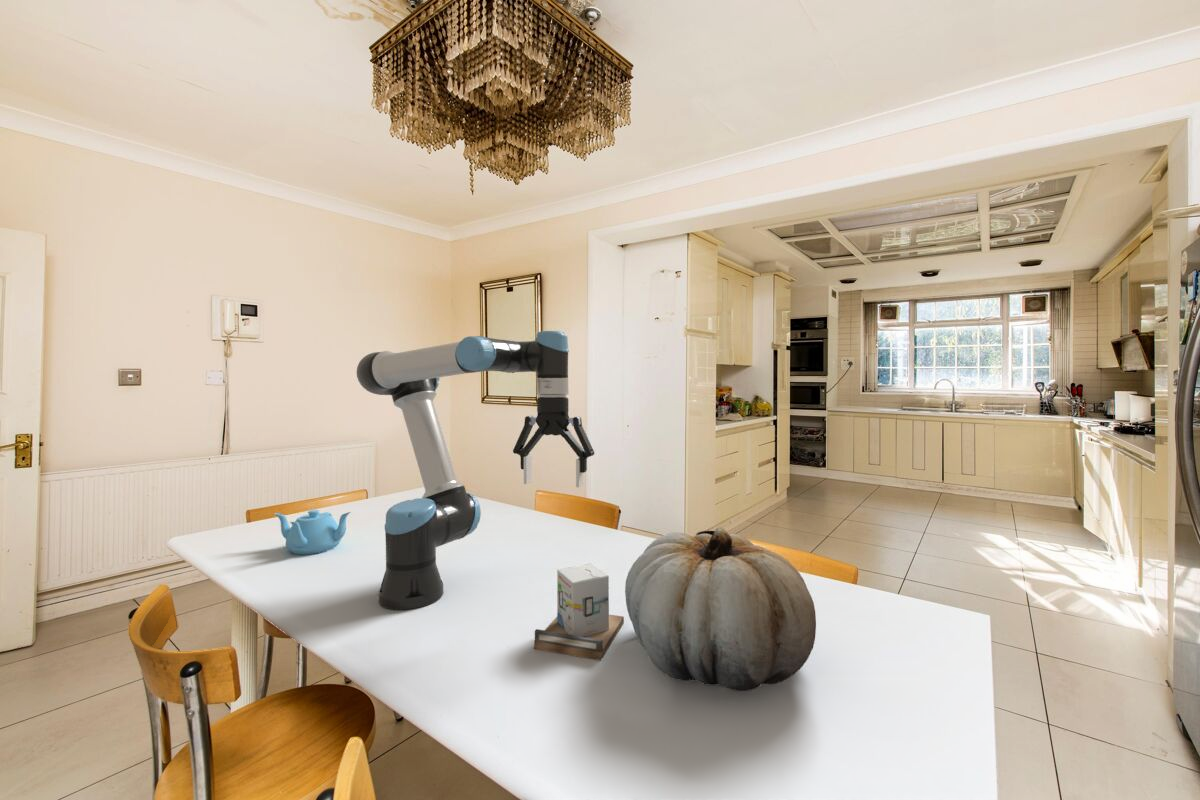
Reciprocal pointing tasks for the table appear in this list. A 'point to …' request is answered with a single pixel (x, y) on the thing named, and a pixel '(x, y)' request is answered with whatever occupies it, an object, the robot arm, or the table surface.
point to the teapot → (312, 532)
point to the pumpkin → (720, 610)
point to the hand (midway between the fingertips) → (553, 484)
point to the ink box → (583, 600)
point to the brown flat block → (577, 640)
